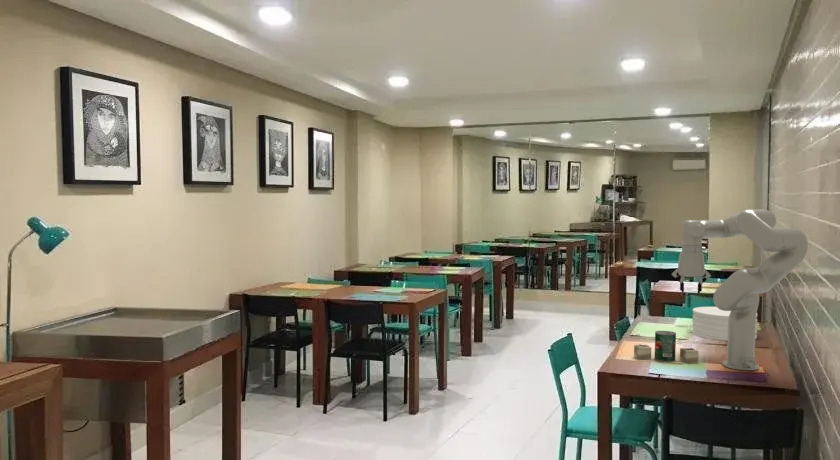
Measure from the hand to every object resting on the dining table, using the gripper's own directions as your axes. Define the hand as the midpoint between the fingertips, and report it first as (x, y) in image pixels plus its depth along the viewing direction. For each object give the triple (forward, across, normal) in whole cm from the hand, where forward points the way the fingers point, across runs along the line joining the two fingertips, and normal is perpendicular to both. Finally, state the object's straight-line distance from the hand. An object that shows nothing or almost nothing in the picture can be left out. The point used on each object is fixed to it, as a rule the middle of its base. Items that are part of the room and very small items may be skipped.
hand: (690, 292), depth 274 cm
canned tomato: (+26, +10, +17) cm, 32 cm away
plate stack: (+26, -18, -47) cm, 56 cm away
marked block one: (+26, +1, +17) cm, 31 cm away
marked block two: (+26, +18, +17) cm, 36 cm away
